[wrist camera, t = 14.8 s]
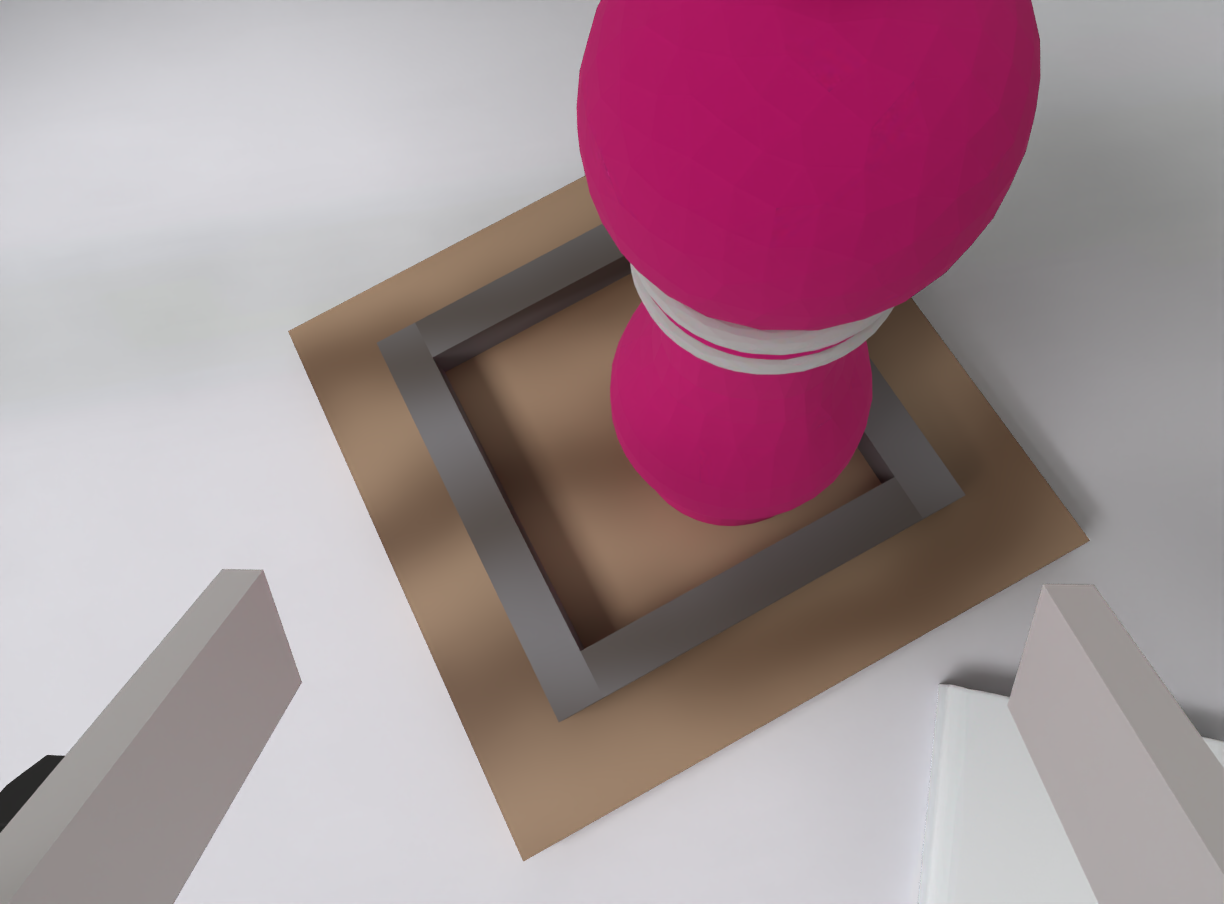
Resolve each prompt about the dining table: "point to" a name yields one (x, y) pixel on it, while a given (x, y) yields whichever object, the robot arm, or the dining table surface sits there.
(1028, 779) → the external hard drive
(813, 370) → the pepper mill
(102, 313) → the dining table surface
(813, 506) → the pocket board
